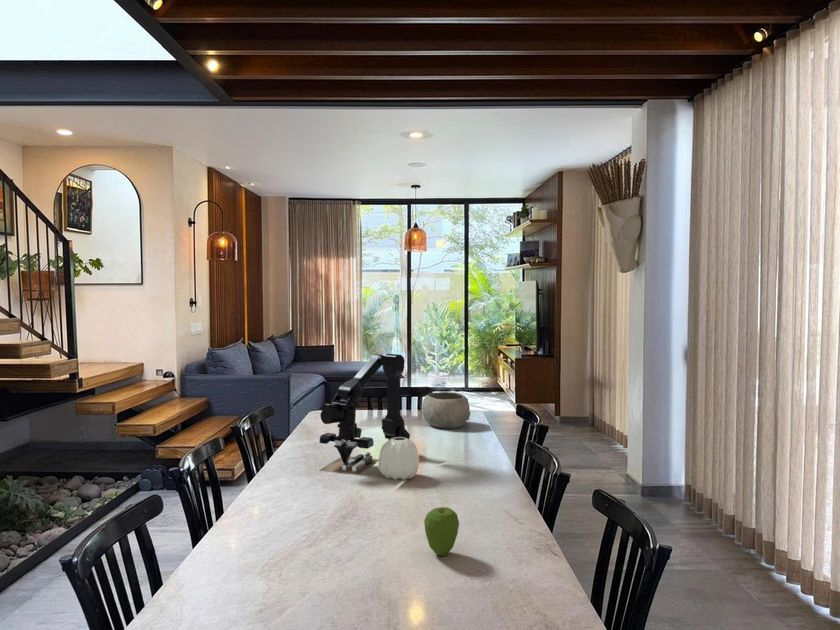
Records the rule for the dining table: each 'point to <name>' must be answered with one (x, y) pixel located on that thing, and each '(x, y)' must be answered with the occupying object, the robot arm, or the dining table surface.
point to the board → (337, 467)
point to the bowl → (446, 409)
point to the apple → (441, 529)
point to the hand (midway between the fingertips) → (345, 464)
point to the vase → (399, 459)
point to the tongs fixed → (362, 463)
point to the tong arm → (352, 462)
